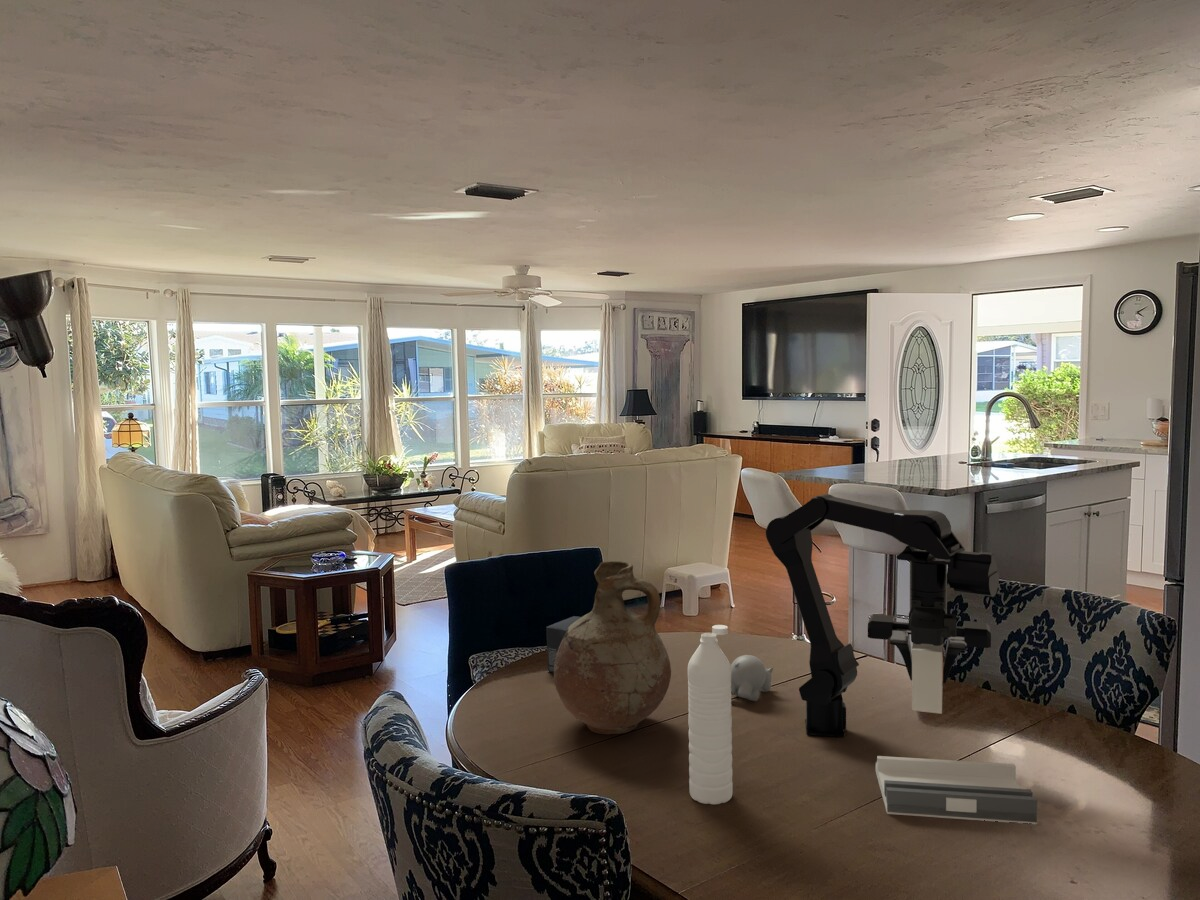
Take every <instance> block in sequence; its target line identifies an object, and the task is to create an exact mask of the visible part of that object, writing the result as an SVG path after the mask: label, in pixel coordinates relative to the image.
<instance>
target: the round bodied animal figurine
mask: <svg viewBox="0 0 1200 900" xmlns="http://www.w3.org/2000/svg"><path fill="white" fill-rule="evenodd" d="M730 665H731V696H736V697H739V698H741V699H742V698H743V699H746V700H749V701H751V702H758V700H760V692H763V693H766V692H769V691H770V690H771V688H772V681H773V676H772V673H773V670H774V667H772V666H771V667H770V668H766V667H765V664H764V663H763V662H762V660H761V659H759V658H758V657H756V656H755V655H750V654H743V655H740V656H738V657H736V658H735V659H734V660H733V661H732V663H730Z"/></svg>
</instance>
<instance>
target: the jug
mask: <svg viewBox="0 0 1200 900" xmlns="http://www.w3.org/2000/svg"><path fill="white" fill-rule="evenodd" d="M593 573H594V577H595V581H596V583H597V588H596V592H595V594H594V603H593V607H592V609H591V611H590V612H587V613H586V614H584V615H582V616H580V617H581V618H580V619H578V620H577V621H575V622H574V623H573V624H571V625H570V626H569V627H568V628H567V631H566V634H565V636H564V638H563V640H562V642H561V644H560V646H559V649H558V652H557V655H556V659H555V664H554V673H553V679H554V680H553V681H554V687H555V690H556V692H557V694H558V696H559V698H560V701H561V702H562V704H563V705H564V707H565V708H566V710H567V711H568V712H569V713H570V715H572V716H573V717H574V718H575V719H576V720H579V721H580V722H581V723H583V724H585V725H586V727H587V728H588V729H589V731H591V732H594V733H595V734H599V735H600V734H601V735H623V734H626V733H629V732H632V731H634V730H635V729H636V728H637V727H638V725H639V723H640V722H643V720H645V719H646V718H648V717H650V716H651V715H652V714H653V712H655V711H656V710H657V709H658V707H659V706H660V705H661V703H662V702H663V701H664V698H665V697H666V694H667V692H668V689H669V687H670V683H671V676H672V668H671V661H670V658H669V654H668V651H667V648H666V647H665V644H664V643H663V639H662V638H661V636H660V634H659V633H658V632H657V629H656V627H655V626H656V623H657V620H658V618H659V614H660V610H661V609H660V608H661V597H660V594H659V590H658V589H657V588H656V586H655V585H653V584H652V582H650V581H649V580H647V579H644V578H636V577H635V576H634V566H633V564H632V563H631V562H628V561H623V560H610V561H609V560H607V561H601V562H600V563H599V565H598V567H597V568H596V569H595V570H594V572H593ZM631 590H632V591H640V592H642V593H643V594H645V596H646V599H647V606H646V609H645V611H644V612H643V613H642V614H640V615H639V614H637V613H635V612H633V611H632V610H629V609H628V608H627V607H626V605H625V603H624V598H623V593H624V592H625V591H631Z"/></svg>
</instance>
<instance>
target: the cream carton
mask: <svg viewBox="0 0 1200 900" xmlns="http://www.w3.org/2000/svg"><path fill="white" fill-rule="evenodd" d="M911 652H912V681H911V711H913V712H921V713H922V712H923V713H930V714H931V713H932V714H941V715H942V714H943V668H944V643H943V644H942V645H940V646H934V645H932V644H914V643H913V642H912V645H911Z"/></svg>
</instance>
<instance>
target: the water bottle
mask: <svg viewBox="0 0 1200 900" xmlns="http://www.w3.org/2000/svg"><path fill="white" fill-rule="evenodd" d="M724 635H729V627H728V626H727V625H724V624H715V625H712V626H711V632H704V633H703V632H702V633H701V636H700V639H699V641H700V644H699V646H698V647H697V648H696V650H695V652H694V653H693V654H692V656H691V657H690V659H689V661H688V664H687V680H688V681H687V686H688V687H687V691H688V693H687V696H688V699H687V700H688V702H687V706H688V710H687V711H688V714H687V715H688V717H687V718H688V719H687V720H688V721H687V722H688V728H689V729H688V740H689V742H688V751H689V754H688V763H689V766H688V775H689V779H688V783H689V784H688V785H689V795H690V797H691V799H693V800H694V801H697V802H698V803H700V804H704V805H708V804H709V805H720V804H725V803H727V802H728V801H730V800H731V799H732V797H733V785H734V784H733V766H732V765H733V755H732V752H733V744H732V740H733V733H732V732H733V731H732V727H733V721H732V720H733V719H732V695H731V663H730V660H729V659H728V657H727V656H726V654H725V653H724V651H723V650H722V649H721V647H720V646H719V644H718V641H719V640H718V638H717V637H718V636H724Z"/></svg>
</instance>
